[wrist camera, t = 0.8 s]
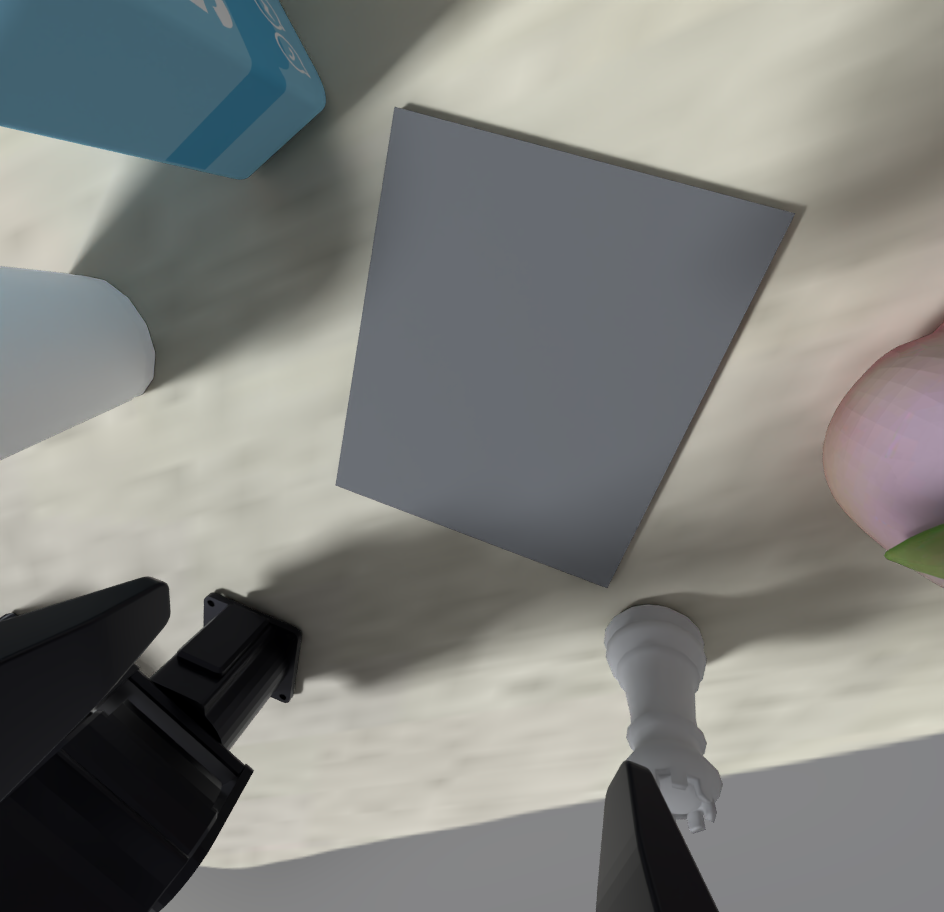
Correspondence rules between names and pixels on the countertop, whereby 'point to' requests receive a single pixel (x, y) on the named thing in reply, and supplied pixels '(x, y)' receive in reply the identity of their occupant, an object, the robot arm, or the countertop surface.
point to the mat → (539, 338)
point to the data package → (159, 78)
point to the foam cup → (65, 353)
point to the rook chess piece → (665, 705)
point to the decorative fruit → (895, 454)
